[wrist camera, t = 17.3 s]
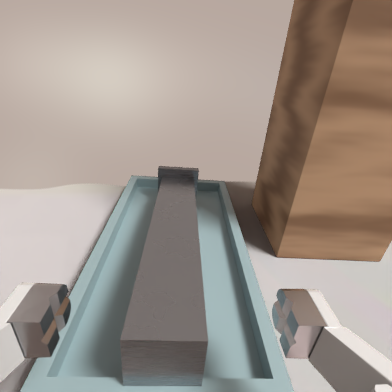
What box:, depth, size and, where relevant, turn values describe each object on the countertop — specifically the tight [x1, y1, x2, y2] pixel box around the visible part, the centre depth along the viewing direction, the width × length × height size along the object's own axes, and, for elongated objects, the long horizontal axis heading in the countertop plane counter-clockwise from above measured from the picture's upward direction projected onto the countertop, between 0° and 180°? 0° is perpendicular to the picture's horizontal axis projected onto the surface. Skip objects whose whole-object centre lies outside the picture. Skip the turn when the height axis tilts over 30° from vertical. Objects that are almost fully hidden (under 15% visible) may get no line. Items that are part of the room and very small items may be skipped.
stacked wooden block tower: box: [252, 0, 392, 261], centre depth 21 cm, size 10×10×28 cm
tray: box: [20, 176, 294, 392], centre depth 22 cm, size 24×12×2 cm, turn 2°
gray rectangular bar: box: [120, 166, 208, 386], centre depth 19 cm, size 20×4×4 cm, turn 2°
